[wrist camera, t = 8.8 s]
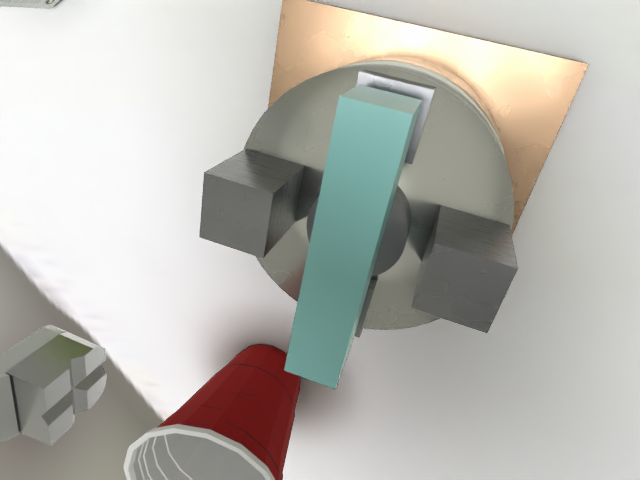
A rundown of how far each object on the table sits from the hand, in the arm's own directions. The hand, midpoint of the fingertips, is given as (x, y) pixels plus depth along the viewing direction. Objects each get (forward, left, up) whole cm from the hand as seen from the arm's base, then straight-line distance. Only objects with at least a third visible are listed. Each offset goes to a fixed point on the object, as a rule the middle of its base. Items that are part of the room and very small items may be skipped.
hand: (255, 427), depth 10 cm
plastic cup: (-20, +5, -21) cm, 29 cm away
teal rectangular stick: (0, 0, -13) cm, 13 cm away
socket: (0, 0, -21) cm, 21 cm away
